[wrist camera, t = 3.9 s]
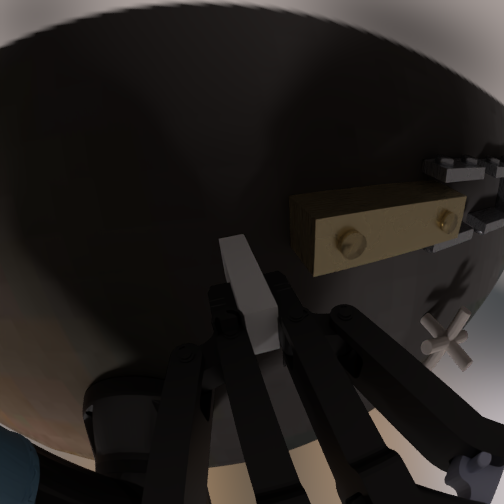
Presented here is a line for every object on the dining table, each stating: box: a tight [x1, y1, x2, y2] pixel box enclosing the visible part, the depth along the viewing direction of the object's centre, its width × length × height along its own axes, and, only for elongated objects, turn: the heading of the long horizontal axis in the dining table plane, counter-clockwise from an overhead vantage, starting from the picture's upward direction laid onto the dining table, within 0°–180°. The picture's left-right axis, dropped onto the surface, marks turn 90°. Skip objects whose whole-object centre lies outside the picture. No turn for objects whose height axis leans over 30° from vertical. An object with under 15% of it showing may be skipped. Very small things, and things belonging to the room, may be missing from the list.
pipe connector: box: [420, 306, 473, 371], centre depth 29 cm, size 10×10×10 cm
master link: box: [289, 180, 467, 277], centre depth 20 cm, size 15×4×5 cm, turn 95°
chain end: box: [422, 155, 485, 253], centre depth 22 cm, size 7×9×3 cm
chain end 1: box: [466, 155, 504, 235], centre depth 23 cm, size 9×9×4 cm
